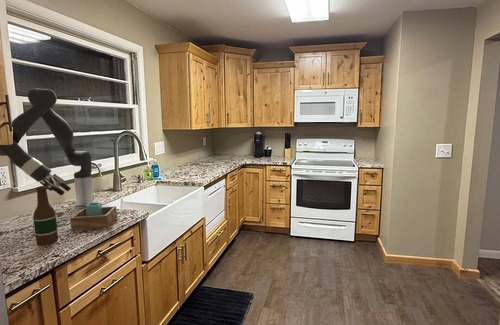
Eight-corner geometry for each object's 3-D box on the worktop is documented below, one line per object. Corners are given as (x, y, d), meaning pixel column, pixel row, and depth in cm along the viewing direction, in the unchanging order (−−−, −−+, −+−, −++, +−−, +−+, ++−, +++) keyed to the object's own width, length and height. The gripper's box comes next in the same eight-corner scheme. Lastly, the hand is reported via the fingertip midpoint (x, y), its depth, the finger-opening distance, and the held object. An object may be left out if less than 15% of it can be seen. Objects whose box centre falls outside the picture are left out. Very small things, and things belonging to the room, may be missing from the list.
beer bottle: (62, 238, 126) (56, 184, 123) (51, 245, 119) (44, 188, 115) (44, 238, 126) (38, 184, 123) (31, 246, 118) (24, 189, 115)
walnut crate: (84, 219, 151) (83, 208, 151) (116, 217, 154) (116, 206, 153) (71, 230, 136) (70, 218, 135) (107, 227, 138) (106, 215, 138)
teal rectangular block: (90, 220, 147) (88, 203, 145) (102, 219, 148) (101, 202, 147) (87, 223, 141) (85, 206, 140) (100, 222, 143) (98, 205, 142)
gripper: (35, 166, 129) (67, 189, 133) (48, 162, 142) (76, 183, 147) (23, 178, 128) (55, 201, 133) (37, 173, 142) (66, 194, 146)
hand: (66, 191), depth 140 cm, fingers open, 8 cm apart
